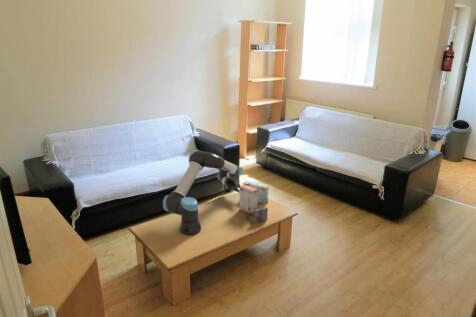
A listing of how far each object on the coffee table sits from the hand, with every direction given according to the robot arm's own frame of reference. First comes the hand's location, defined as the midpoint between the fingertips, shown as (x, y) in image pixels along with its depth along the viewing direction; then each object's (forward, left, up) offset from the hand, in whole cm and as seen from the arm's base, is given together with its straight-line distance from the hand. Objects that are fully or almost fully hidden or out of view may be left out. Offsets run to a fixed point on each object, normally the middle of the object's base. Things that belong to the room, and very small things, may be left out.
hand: (241, 192), depth 279 cm
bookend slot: (-1, -23, -12) cm, 26 cm away
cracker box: (-1, -12, -12) cm, 17 cm away
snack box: (+14, +2, -12) cm, 19 cm away
